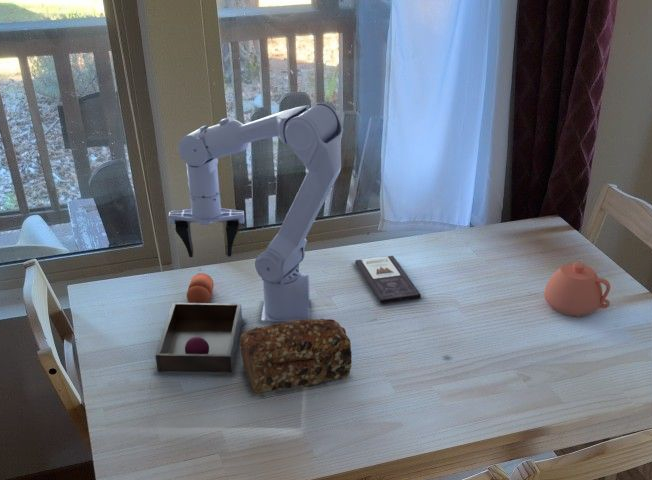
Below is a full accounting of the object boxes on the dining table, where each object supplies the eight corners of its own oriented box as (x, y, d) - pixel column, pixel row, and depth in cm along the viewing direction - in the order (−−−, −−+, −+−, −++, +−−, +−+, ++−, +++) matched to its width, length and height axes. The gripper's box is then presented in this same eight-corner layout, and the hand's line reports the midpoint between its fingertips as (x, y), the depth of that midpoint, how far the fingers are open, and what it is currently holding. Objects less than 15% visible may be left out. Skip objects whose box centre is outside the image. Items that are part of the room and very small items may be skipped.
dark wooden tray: (242, 321, 167) (241, 303, 164) (232, 374, 152) (230, 356, 150) (175, 320, 166) (172, 302, 164) (158, 373, 151) (155, 355, 149)
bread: (253, 398, 147) (250, 352, 141) (240, 365, 155) (236, 320, 149) (353, 380, 152) (354, 335, 147) (335, 349, 160) (336, 305, 154)
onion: (211, 352, 157) (209, 332, 154) (208, 365, 153) (206, 345, 150) (188, 351, 156) (185, 332, 154) (184, 365, 153) (181, 345, 150)
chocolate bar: (380, 299, 174) (355, 260, 187) (380, 303, 174) (355, 264, 188) (420, 294, 177) (392, 255, 190) (420, 298, 177) (392, 259, 191)
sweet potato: (193, 289, 176) (190, 269, 173) (216, 288, 176) (213, 268, 173) (186, 312, 169) (183, 292, 166) (210, 311, 169) (207, 291, 166)
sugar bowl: (553, 286, 184) (561, 245, 178) (614, 304, 179) (624, 262, 173) (534, 311, 175) (541, 268, 169) (597, 330, 170) (607, 287, 164)
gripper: (164, 201, 157) (172, 264, 165) (241, 200, 159) (246, 263, 167) (167, 185, 162) (175, 248, 170) (242, 185, 164) (246, 247, 172)
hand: (210, 254), depth 169 cm, fingers open, 7 cm apart
